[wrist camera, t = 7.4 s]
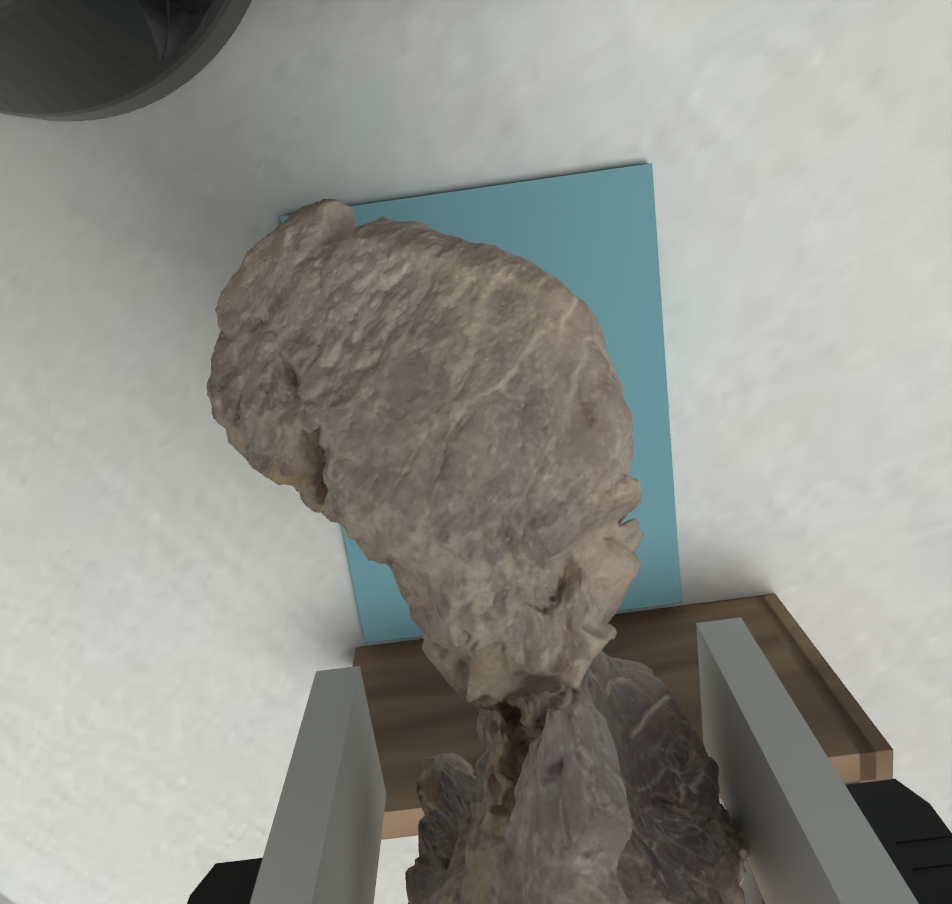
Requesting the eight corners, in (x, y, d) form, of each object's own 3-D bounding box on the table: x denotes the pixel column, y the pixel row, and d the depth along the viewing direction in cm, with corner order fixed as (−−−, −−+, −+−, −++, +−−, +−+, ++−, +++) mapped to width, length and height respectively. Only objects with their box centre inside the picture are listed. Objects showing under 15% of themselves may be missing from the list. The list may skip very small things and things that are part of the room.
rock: (599, 137, 12) (773, 108, 5) (722, 898, 17) (899, 1401, 10) (203, 229, 12) (-108, 312, 6) (432, 951, 17) (411, 1470, 10)
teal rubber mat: (282, 215, 30) (279, 216, 29) (648, 163, 30) (651, 163, 29) (366, 635, 35) (364, 643, 35) (678, 595, 35) (681, 602, 34)
